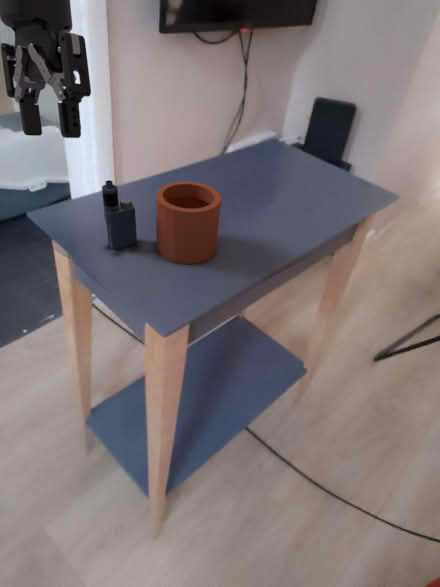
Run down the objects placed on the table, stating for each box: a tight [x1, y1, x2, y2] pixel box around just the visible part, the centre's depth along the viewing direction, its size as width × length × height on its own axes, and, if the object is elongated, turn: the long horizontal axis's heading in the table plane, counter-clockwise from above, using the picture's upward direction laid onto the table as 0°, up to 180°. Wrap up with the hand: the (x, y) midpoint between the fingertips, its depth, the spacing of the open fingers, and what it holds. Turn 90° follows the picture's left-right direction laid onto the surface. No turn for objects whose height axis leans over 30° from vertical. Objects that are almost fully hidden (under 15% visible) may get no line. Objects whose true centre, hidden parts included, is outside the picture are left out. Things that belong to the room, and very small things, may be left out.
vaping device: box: [101, 179, 138, 251], centre depth 65 cm, size 3×5×12 cm, turn 127°
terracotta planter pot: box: [155, 180, 222, 265], centre depth 67 cm, size 11×11×10 cm
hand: (51, 136), depth 49 cm, fingers open, 8 cm apart
